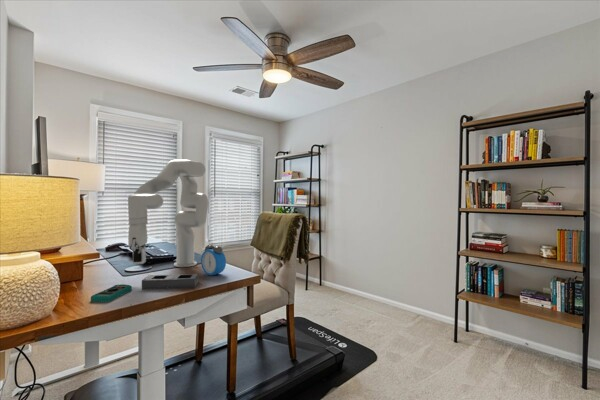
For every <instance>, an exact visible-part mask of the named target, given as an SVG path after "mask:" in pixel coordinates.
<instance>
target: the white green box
mask: <svg viewBox="0 0 600 400" xmlns="http://www.w3.org/2000/svg"><path fill="white" fill-rule="evenodd" d="M137 249H138V248H137ZM140 253H141V262H133V261H132V264H133V265H144V264H145V263H146V262H147V257H146V254H147V253H146V246H145V247H140Z"/></svg>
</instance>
